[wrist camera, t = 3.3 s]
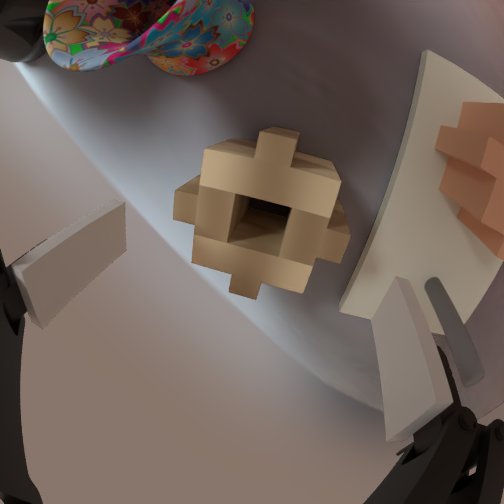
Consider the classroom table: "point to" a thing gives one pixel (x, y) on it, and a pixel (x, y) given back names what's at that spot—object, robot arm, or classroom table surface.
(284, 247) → the gear
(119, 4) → the mug
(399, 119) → the classroom table surface
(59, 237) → the robot arm
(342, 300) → the gear board
